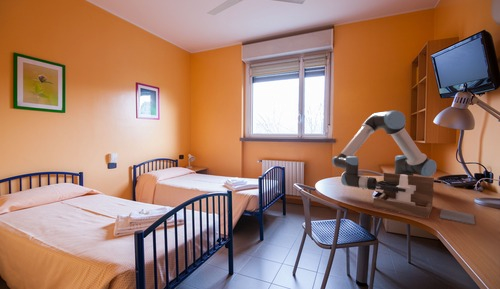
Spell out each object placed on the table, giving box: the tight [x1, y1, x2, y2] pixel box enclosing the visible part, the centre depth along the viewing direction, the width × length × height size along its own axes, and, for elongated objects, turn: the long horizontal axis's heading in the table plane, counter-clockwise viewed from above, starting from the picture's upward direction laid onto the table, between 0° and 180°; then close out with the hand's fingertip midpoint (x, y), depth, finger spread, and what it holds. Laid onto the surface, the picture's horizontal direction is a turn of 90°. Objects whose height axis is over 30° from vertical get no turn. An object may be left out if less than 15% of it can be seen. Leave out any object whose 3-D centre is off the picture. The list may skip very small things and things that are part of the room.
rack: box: [372, 172, 435, 220], centre depth 122 cm, size 23×24×16 cm
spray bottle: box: [396, 174, 411, 202], centre depth 122 cm, size 7×7×18 cm
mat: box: [439, 208, 476, 226], centre depth 108 cm, size 14×12×1 cm
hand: (414, 189), depth 119 cm, fingers closed on spray bottle, 7 cm apart
